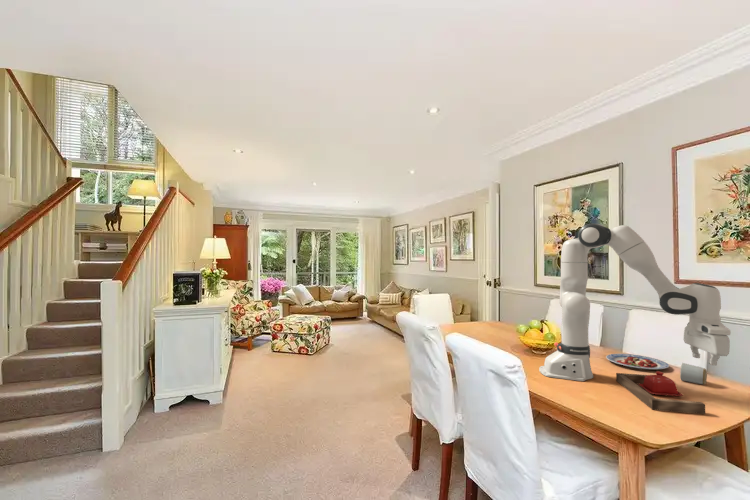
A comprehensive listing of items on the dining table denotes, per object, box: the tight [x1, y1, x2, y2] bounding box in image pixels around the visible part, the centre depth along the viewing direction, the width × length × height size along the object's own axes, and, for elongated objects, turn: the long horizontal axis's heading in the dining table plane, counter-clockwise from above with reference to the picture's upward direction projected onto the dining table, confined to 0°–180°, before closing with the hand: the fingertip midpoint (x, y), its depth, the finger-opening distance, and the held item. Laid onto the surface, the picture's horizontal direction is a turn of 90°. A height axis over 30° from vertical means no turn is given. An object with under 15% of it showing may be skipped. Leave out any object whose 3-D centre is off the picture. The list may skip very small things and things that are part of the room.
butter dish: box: [638, 370, 684, 397], centre depth 141 cm, size 12×12×8 cm
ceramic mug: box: [679, 362, 708, 385], centre depth 153 cm, size 11×8×8 cm
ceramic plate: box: [605, 353, 670, 371], centre depth 177 cm, size 26×26×3 cm
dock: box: [615, 372, 706, 415], centre depth 137 cm, size 16×30×4 cm, turn 166°
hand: (704, 361), depth 134 cm, fingers open, 8 cm apart
